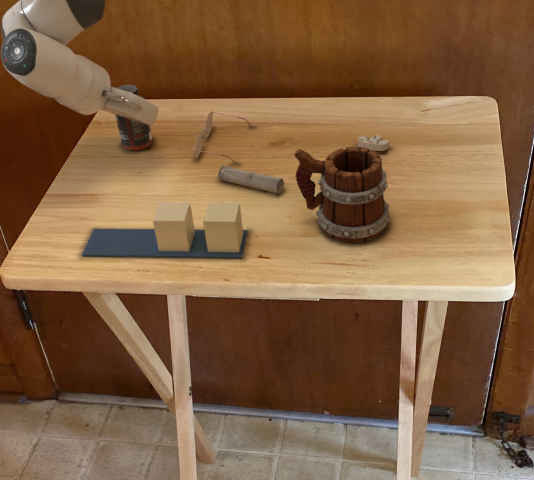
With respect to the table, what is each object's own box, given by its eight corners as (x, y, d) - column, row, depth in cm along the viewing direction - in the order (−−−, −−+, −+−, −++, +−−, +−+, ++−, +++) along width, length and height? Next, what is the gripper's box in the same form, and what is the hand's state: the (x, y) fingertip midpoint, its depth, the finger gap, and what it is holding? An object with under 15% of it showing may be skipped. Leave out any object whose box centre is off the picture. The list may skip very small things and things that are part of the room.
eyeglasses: (212, 125, 159) (212, 106, 156) (253, 129, 158) (252, 111, 155) (193, 163, 149) (192, 144, 146) (236, 168, 148) (236, 149, 145)
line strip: (82, 256, 131) (81, 254, 131) (94, 230, 136) (93, 228, 136) (241, 258, 127) (241, 256, 127) (247, 231, 132) (247, 229, 132)
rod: (285, 188, 141) (283, 175, 139) (277, 197, 139) (276, 183, 137) (226, 175, 146) (224, 162, 144) (218, 183, 144) (216, 170, 142)
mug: (390, 248, 126) (374, 165, 117) (302, 252, 131) (280, 172, 121) (400, 205, 134) (387, 124, 125) (317, 210, 139) (298, 133, 130)
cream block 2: (207, 252, 129) (203, 221, 124) (213, 233, 132) (208, 202, 128) (239, 252, 128) (235, 221, 124) (243, 233, 132) (239, 202, 127)
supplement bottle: (159, 140, 156) (149, 85, 149) (140, 154, 153) (128, 99, 145) (135, 133, 159) (124, 79, 151) (115, 147, 155) (103, 93, 148)
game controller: (389, 140, 150) (389, 128, 148) (388, 175, 142) (389, 162, 140) (358, 140, 151) (358, 128, 149) (355, 175, 142) (355, 162, 141)
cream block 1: (158, 251, 130) (152, 220, 126) (165, 232, 133) (159, 202, 129) (189, 251, 129) (184, 220, 125) (195, 232, 133) (190, 202, 129)
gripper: (135, 82, 135) (181, 110, 147) (51, 57, 145) (101, 85, 157) (121, 118, 136) (169, 143, 148) (39, 91, 145) (90, 116, 157)
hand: (133, 113), depth 152 cm, fingers open, 8 cm apart
